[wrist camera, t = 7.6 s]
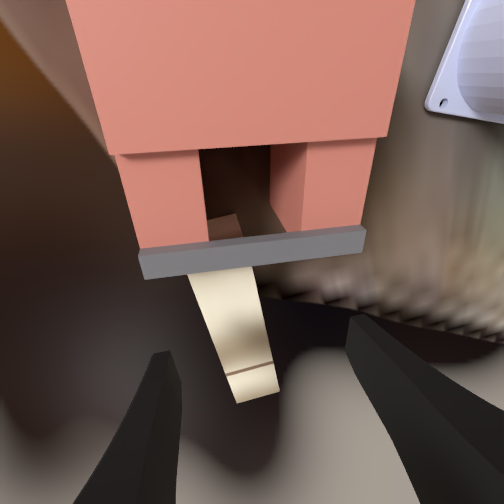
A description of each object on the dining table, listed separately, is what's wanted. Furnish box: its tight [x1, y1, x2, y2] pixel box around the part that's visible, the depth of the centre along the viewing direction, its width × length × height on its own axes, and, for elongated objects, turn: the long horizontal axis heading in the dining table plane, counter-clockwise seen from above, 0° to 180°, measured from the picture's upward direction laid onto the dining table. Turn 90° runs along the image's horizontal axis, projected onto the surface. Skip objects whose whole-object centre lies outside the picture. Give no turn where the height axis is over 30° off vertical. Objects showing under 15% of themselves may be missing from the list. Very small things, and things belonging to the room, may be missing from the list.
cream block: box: [187, 213, 279, 403], centre depth 20 cm, size 12×3×6 cm, turn 10°
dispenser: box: [66, 0, 415, 280], centre depth 13 cm, size 10×10×7 cm
